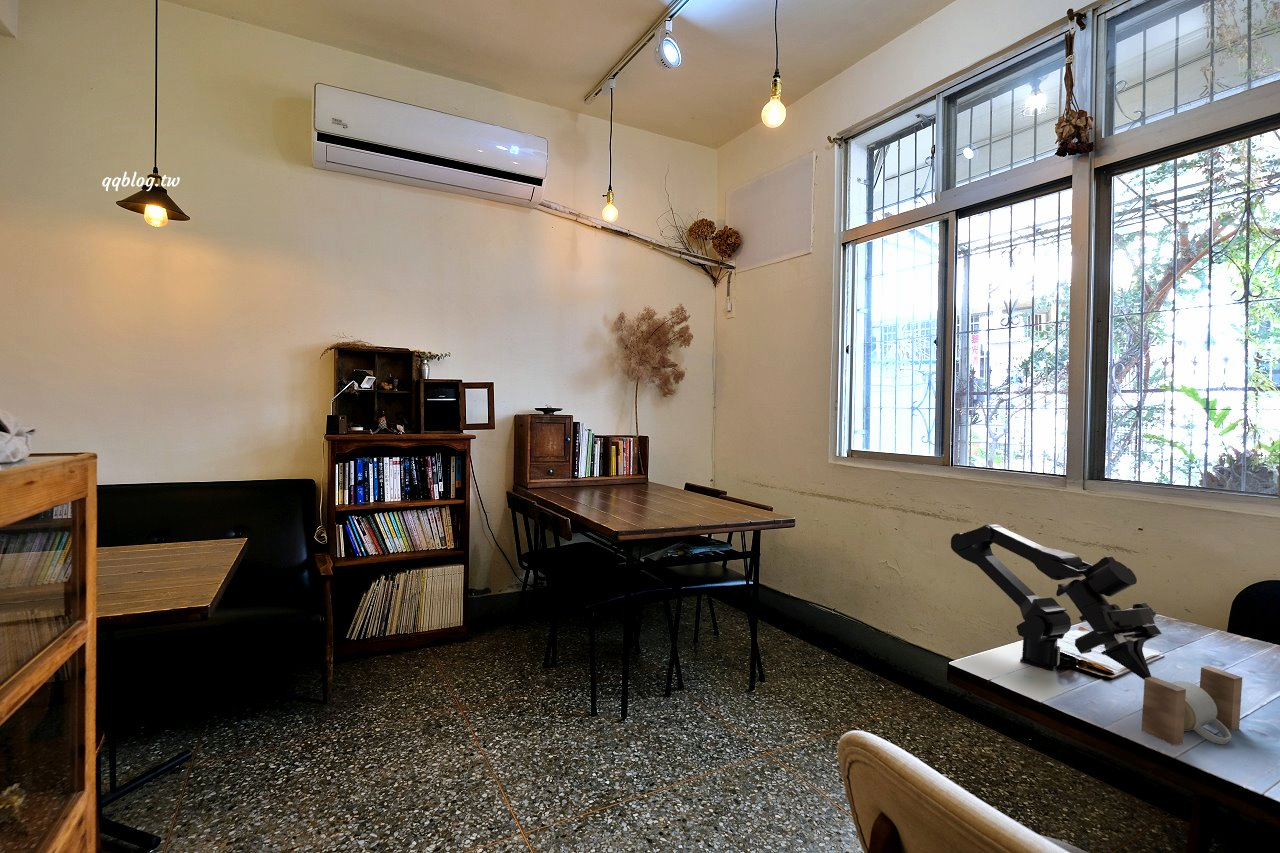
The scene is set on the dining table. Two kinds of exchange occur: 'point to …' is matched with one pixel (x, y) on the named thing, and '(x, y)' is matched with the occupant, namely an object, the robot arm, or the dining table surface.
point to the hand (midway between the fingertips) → (1148, 679)
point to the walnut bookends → (1169, 703)
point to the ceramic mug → (1201, 713)
